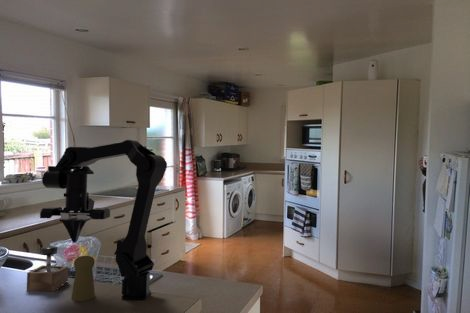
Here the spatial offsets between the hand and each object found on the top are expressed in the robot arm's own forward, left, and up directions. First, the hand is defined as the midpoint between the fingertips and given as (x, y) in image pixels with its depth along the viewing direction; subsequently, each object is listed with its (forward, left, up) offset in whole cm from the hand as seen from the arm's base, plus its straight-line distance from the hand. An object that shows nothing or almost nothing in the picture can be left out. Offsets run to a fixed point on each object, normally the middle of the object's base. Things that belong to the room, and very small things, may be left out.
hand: (74, 242), depth 109 cm
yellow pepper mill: (-6, +8, -13) cm, 17 cm away
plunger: (+8, 0, -10) cm, 12 cm away
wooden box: (+8, 0, -13) cm, 15 cm away
